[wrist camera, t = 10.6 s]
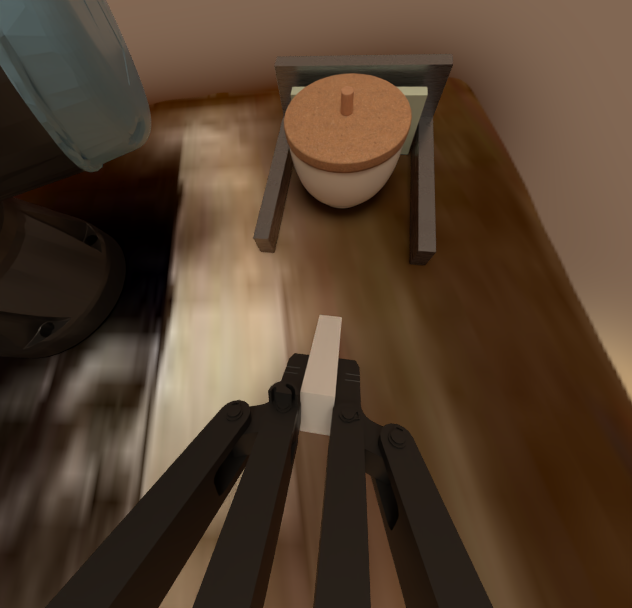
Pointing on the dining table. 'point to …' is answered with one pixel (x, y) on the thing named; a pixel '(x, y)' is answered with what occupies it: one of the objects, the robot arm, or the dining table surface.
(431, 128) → the grey u-shaped frame
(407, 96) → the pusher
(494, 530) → the dining table surface
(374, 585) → the dining table surface
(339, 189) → the lidded jar
